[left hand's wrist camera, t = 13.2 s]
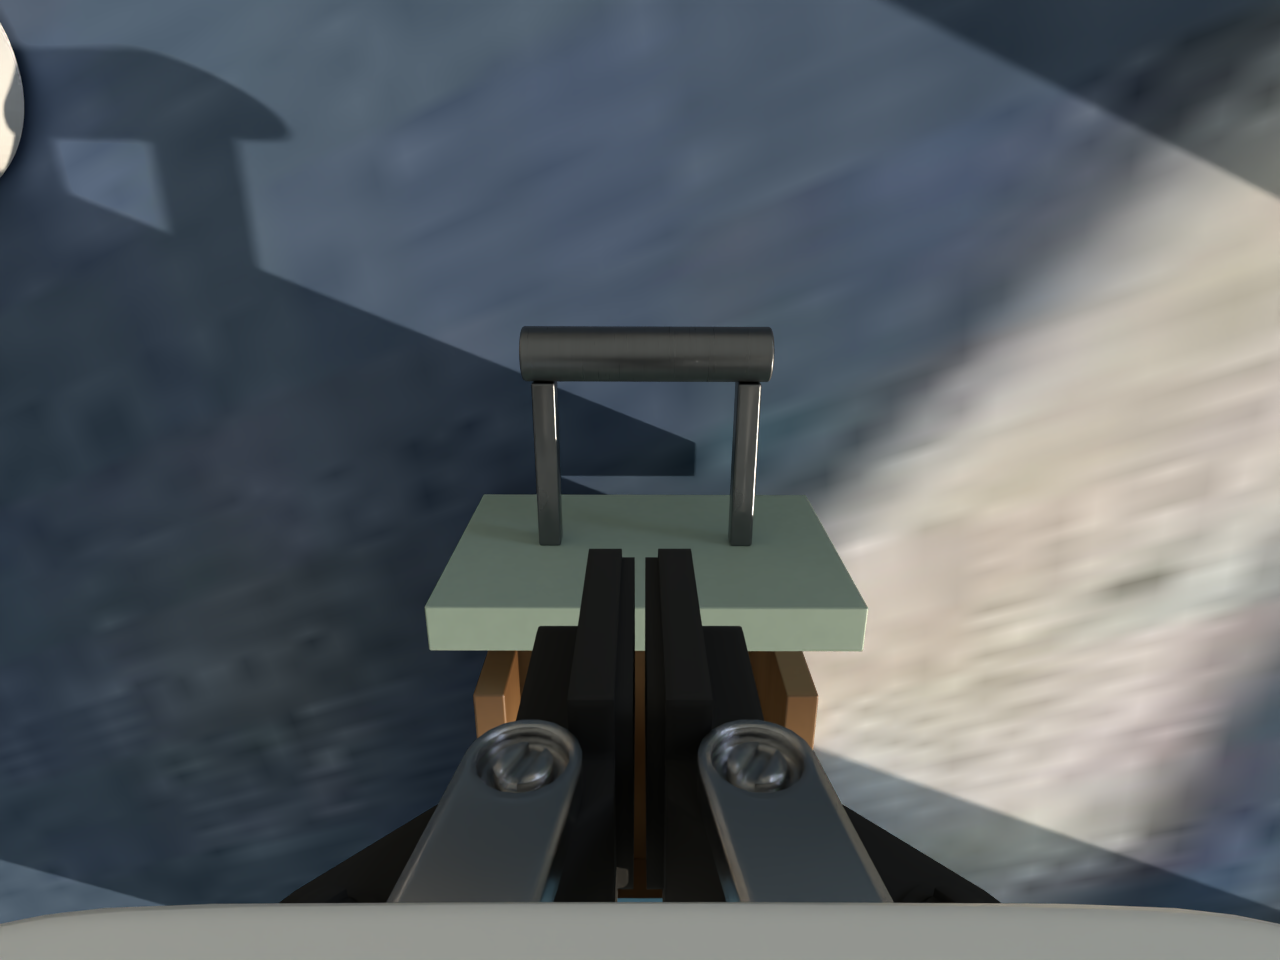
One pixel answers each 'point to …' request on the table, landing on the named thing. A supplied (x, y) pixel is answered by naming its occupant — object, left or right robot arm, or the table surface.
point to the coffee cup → (9, 103)
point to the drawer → (648, 542)
